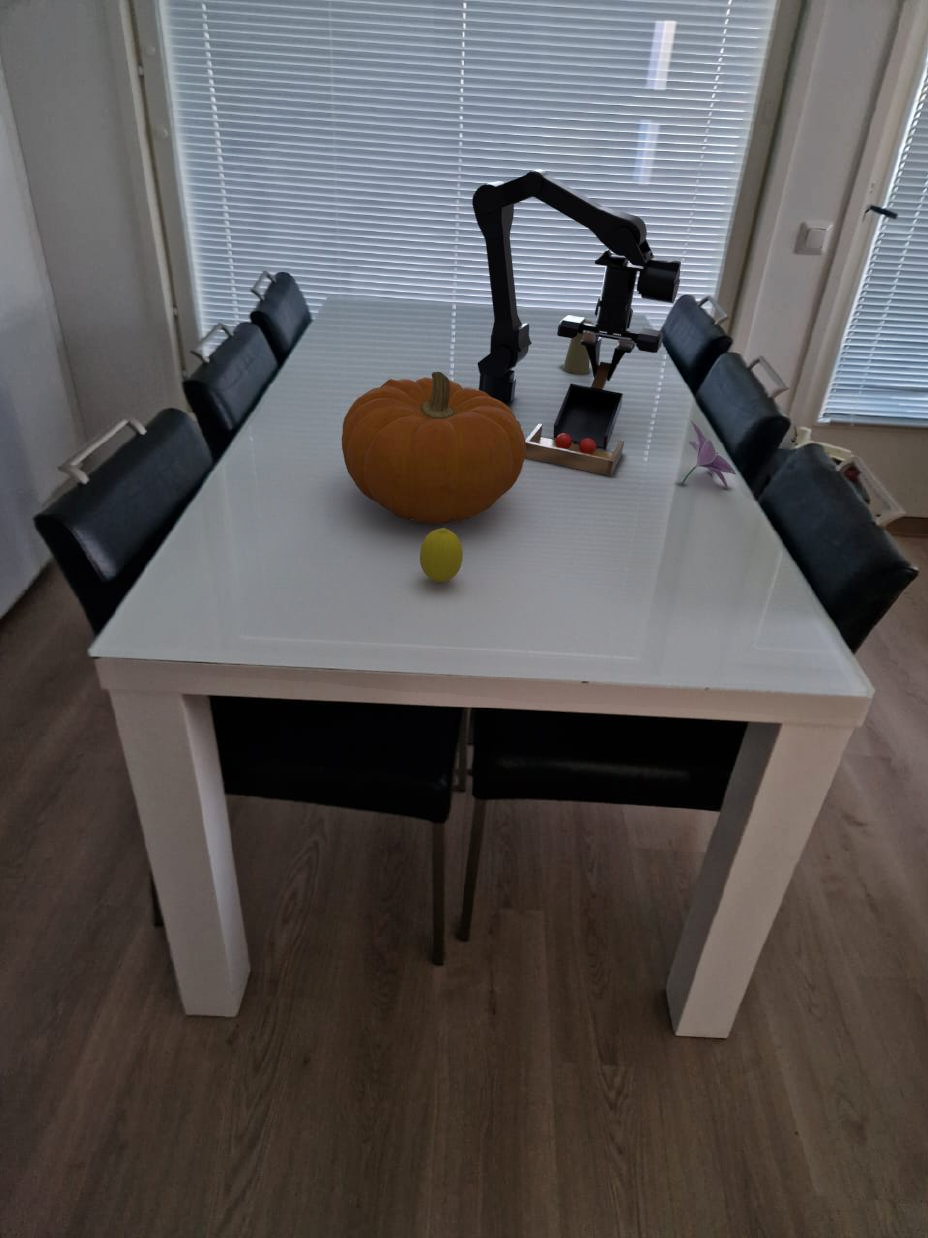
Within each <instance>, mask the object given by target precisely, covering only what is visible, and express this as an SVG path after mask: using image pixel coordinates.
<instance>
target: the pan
mask: <svg viewBox="0 0 928 1238" xmlns="http://www.w3.org/2000/svg"><path fill="white" fill-rule="evenodd" d="M610 365H611V362H608V361H607V362H606V361H599V367H598V370H597V372H596V375H595V377H594V376H593V379H592V383H591V385H590V386H586V385H582V384H576V383H569V386H568V389H567V391H566V392H565V393H566V394H565V396H564V398H563V400H562V403H561V406H560V408H559V410H558V413H557V416H556V419H555V421H554V423H553V434H552V435H553V436H552V439H553V440H556V437H557V436H558V435H559V434H562V433H566V434H568V435H569V436H570V437H571V439H572V444H577V445H579V444H580V442H581V441H582V440H583V439H586V438H589V439H592V440H593V441H594V442H595V444H596V449H600V450H607V448H608V446H609V443H610V440H611V437H612V434H613V433H614V432H613V431H614V429H615V426H616V423H617V421H618V418H619V415H620V412H621V409H622V404H623V395H624V393H622V392H618V391H614V390H613V391H612V390H608V389H605V386H606V384H607V382H608V381H607V378H608V372H609V368H610Z"/></svg>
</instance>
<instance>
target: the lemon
mask: <svg viewBox="0 0 928 1238" xmlns="http://www.w3.org/2000/svg"><path fill="white" fill-rule="evenodd" d="M419 552H420V553H419V564H420V568H421V570H422V572H423V573H424V574H425V576H426V577H427V578H428V579H430V580H432V581H435V582H436V583H438V584H441V583H443V582H448V581H450V580H452V579H453V578H454V577H455V576H457V574H458V573H459V572H460V570H461V567H462V564H463V558H464V553H463V546H462V543H461V539H460V538H459V537H458V536H457V534H456V533H454V532H453V531H452V530H449V529H447V528H445V527H441V528H437V529H435V530H434V529H433V530H432V531H430V532H429V533H428V534H426V536H425V537H424V539H423V541H422V543H421V546H420V551H419Z"/></svg>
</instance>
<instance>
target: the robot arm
mask: <svg viewBox="0 0 928 1238" xmlns="http://www.w3.org/2000/svg"><path fill="white" fill-rule="evenodd" d="M531 198H535V199H536V200H538V201H540V202H542V203H543V204H545V205H547V206H549V207H550V208H551V209H554V210H555V211H557V212H559V213H561V214H562V215H564V216H566V217H568V218H569V219H571V220H572V221H574V222H576V223H578V224H580V225H581V226H583V227H585V228H586V229H588V230H589V231H590V232H591V233H592V234H594V236H595V237H596V238H597V239H598V241H599V242H600V243H601V244H603V246H604V247H606V248H607V249H606V250H605V251H603V253H602V255H600V257H598V258H595V260H594V264H595V265H596V266H602V267H603V266H604V267H605V268H604V273H603V279H602V285H601V291H600V297H598V299H597V302H596V305H595V310H594V316H595V317H596V321H595V324H594V325H591V324H585V323H586V320H587V319H586V317H582V316H576V315H570V314H567V315H566V316H565V317H564V318H563V319H561V320H560V321H559V323H558V326H557V332H556V335H557V336H558V337H560V338H566V339H571V338H572V339H573V338H574V337H575V336H577V335H578V333H580V334H583V339H582V341H581V345H584V346H585V347H586V350H587V352H588V355H589V358H590V362H589V363H590V367H591V371H592V376H593V378H594V377H595V375H596V372H597V370H598V367H599V364H600V356H601V345H602V341H603V339H609V340H614V341H618V344H617V345H616V346H615V347H614V350H613V354H612V358H611V361H610V363H611V365H610V368H609V372H608V378H607V381H606V382H610V381H611V379H612V378H613V376H614V373H615V371H616V370H617V368H618V365H619V364H620V362H621V360H622V359H623V357H624V356H625V354H631V353H632V352H633V351H634V349H635V348H637V349H638V351H640V352H645V353H650V354H657V353H658V351H659V350H660V349H661V347H662V345H663V344H662V343H663V339H664V334H663V331H662V330H659V329H653V328H647V327H642V328H641V330H640V331H639V332H638V331H633V330H632V331H630V330H629V329H630V327H631V323H632V319H633V314H634V310H633V308H632V303H633V298H634V292H635V286H636V292H637V293H638V295H640V298H641V299H644V300H651V301H655V302H662V303H667V304H674V303H675V301H676V298H677V296H678V291H679V288H680V283H681V279H680V277H681V266H682V261H680V260H666V259H659V258H655V256H654V253H653V251H652V249H651V246H650V244H649V242H648V240H647V233H648V230H647V226H646V223H645V221H644V219H642V218H641V217H640V216H636V215H635V214H631V213H628V212H625V211H622V210H618V209H614V208H610V207H606V206H604V205H602V204H600V203H598V202H596V201H595V200H593V199H592V198H590V197H588V196H586V195H584V194H582V193H581V192H579V191H578V190H576V189H574V188H572V187H570V186H569V185H567V184H566V183H564V182H562V181H560V180H559V179H557V178H555V177H553V176H552V175H550V174H549V173H548V172H547V171H546V170H544V169H534V170H530V171H529V172H527V173H526V174H524V175H522V176H519V177H517V178H513V179H512V180H509V181H506V182H504V181H502V180H501V181H499V180H496V181H493V182H489V183H485V184H482V185H480V186H479V187H478V188H477V189H476V190H475V191H474V193H473V195H472V199H471V204H472V209H473V214H474V216H475V220H476V224H477V226H478V228H479V230H480V232H481V234H482V236H483V239H484V241H485V247H486V248H485V249H486V257H487V266H488V277H489V285H490V294H491V302H492V311H493V325H492V329H491V334H490V345H489V347H490V348H489V353H488V354H487V355H486V356H484V357H483V358H482V359H480V360H479V361H478V362H477V369H478V373H479V382H478V390H480V391H483V392H485V393H486V394H488V395H489V396H491V397H492V398H495V399H497V400H499V401H501V402H502V403H504V404H505V405H507V406H509V405H510V404H511V402H512V401H513V400H514V399H515V395H516V386H517V379H516V378H515V370H513V369H514V368H515V367H517V364H518V363H520V362H521V361H522V360H523V359H525V357H526V356H527V354H528V352H529V348H530V346H531V345H532V344H533V343H532V341H531V338H530V324H529V323H528V322H527V323H522V321H521V319H520V317H519V314H518V306H517V304H518V303H517V295H516V287H515V286H516V285H515V277H514V276H515V274H514V267H513V256H512V245H511V244H512V243H511V231H512V226H513V222H514V216H515V215H514V213H515V205H516V204H518V203H521V202H523V201H525V200H528V199H531ZM638 272H639V274H638ZM637 276H638V277H637ZM627 329H628V330H627Z"/></svg>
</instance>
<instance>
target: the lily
mask: <svg viewBox="0 0 928 1238" xmlns="http://www.w3.org/2000/svg"><path fill="white" fill-rule="evenodd" d="M690 422H691V425H692V427H693V429H694V431H695V434H696V437H697V442H696V441H693V440H692V441H691V440H690V441H688V445H690V446H692V448H693V449H694V450H695V452H697V460H696V465H694V466H693V468H691V470H690V471H689V472H688V473H687V474H686V476H685V477H684V479H683V480H682V482H681V483H680V485H684V483H685V482H686V480H687V479H688V478H689V476H690V475H691V474H692V473H693V471H695V469H697V468H698V467H701V468H705V469H707V470H708V473H710V474H716V475H717V477H718V478H719V479H720V481H721V482H722V483H723V485H724V486H725V488H726V489H727V490H728V487H729V486H728V483H727V481H726V478H725V476H724V474H723V473H725V474H732V475H737V473H736V471H735V469H734V468H733V467H732V465H731V464H730V463H729V461H727V459H725V458H724V457H723V456H721V455H719V452H718V451H717V450H716V448H715V446H714V444H713V442H712V440H709V439H708V440H707V438H706V435H704V433H703V431H702V430H701V429H700V428H699V426H697V424H696V422H694V421H693V420H690Z"/></svg>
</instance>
